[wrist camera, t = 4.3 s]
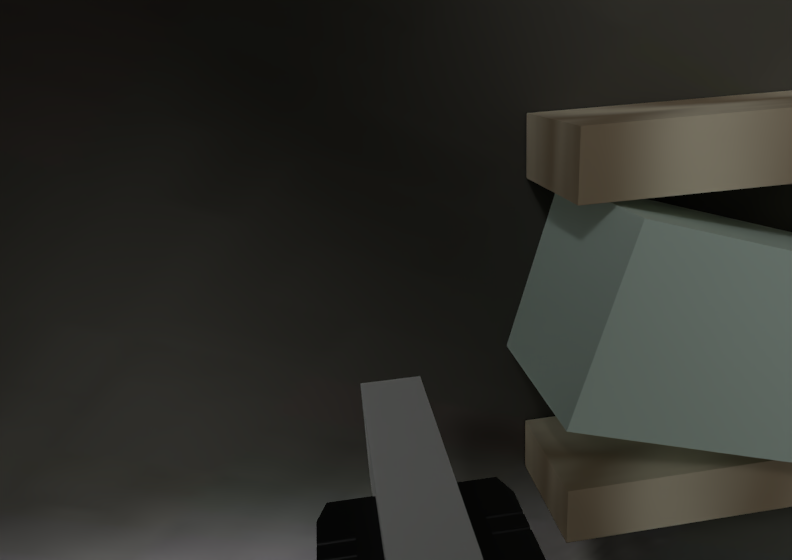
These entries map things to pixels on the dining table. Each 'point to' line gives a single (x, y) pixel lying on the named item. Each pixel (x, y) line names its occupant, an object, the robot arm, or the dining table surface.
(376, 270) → the dining table surface
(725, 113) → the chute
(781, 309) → the block
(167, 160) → the dining table surface
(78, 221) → the dining table surface
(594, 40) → the dining table surface
